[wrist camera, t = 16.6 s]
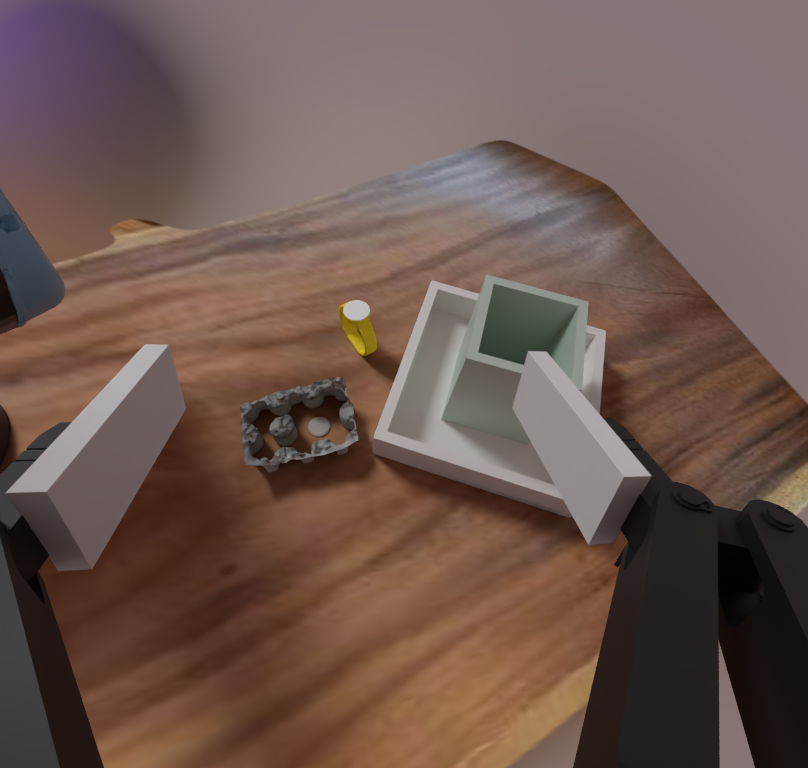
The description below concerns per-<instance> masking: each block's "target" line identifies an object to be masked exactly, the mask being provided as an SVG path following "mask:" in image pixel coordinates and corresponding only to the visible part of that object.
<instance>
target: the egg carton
mask: <svg viewBox="0 0 808 768" xmlns="http://www.w3.org/2000/svg"><path fill="white" fill-rule="evenodd" d="M329 395H334V396H335V397H336V398H337V399H338V400H340V401H347V402H346V403H344V404H343V405H342V406H341V408H340V412H339V415H340V421H341V423H342V425H343V426H344V427H345V428H346V429H349V430H352V431H351V432H349V434H348V436H347V439H346V441H345V442H344V443H343V444H342V445H335V444H334V443H333V442H332V441H330V440H326V439H324V440H320V441H316V440H315V442H314V444H313V445H312V446H311V454H308V453H306V452H305V453H303V456H300V455H301V454H302V453H301V452H297V451H296V449H295V448H293V447H291V448H287V447H282V448H280V449H278V450H277V451H275V455H274V457H273V459H272V460H269V459H267V458H265V457H263V458H261V459H260V460H258V459H257V458H254V457H253V454H254V453H256V452H258V451H259V450H260V449H261V447H262V446H263V438H262V436H261V434H260V433H259V432H258V429H257V428H255V427H254V425H253V424H249V423H251V422H253V421H254V420H255V419H257V417H258V415H259V411H261V410H265V409H270V411H271V412H272V413H273V414H275V415H277V416H282V415H284V416H282V417H278V418H276V419H274V421H273V422H272V423H271V425H270V434H271V435H272V436H273V438H274V440H275V441H276V442H277V443H278V444H279V445H282V446H288V445H290V444H292V443H293V442H294V441H295V440H296V438H297V435H298V433H297V429H296V427H295V425H294V422H293V420H292V418H291V416H290V415H288V414H287V413H288V412H289V411H290V410H291V408H292V405H293V404H296V403H299V402H303V404H304V405H305V406H306V407H309V408H316V407H318V406H320V405H321V404H322V403H323V401H324V397H326V396H329ZM240 410H241V425H242V441H243V450H244V460H245V464H247V465H257V466H258V465H263V467H264V468H265V469H266V471H267V472H273V471H277V470H278V468H279V464H280V463H287V462H288V461H289V460H298V459H301V460H302V462H303V463H309V462H312V461H314V457H315V456H322V455H326V454H329V453H332V452H334V451H336V452H337V454H338V455H340V454H345V453H347V452H348V446H349V445H351V444H352V443H354V442H356V441H358V434H357V431H356V424H355V420H354V418H353V415H354V410H353V405H352V403H351V402H350V400H349V398H348V395H347V390H346V386H345V382H344V379H343V378H342V377H338V378H329V379H326V380H320V381H317V382H313V383H312V385H309V386H299V387H296V388H295V389H290V390H285V391H278V392H275V393H272V394H270V395H267V396H265V397H263V398H260V399H257V400H256V401H254V402H252V403H249V402H246V403H243V404H242V405H240ZM285 414H287V415H285ZM330 428H331V425H330V422H329V421H328V420H327V419H326V418H324V417H317V418H314V419H312V420H311V421H310V423H309V425H308V430H309V433H310V434H311V435H313V436H315V437H323V436H325V435H326V434H327V433H328V432H329V430H330Z"/></svg>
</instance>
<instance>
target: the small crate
mask: <svg viewBox="0 0 808 768" xmlns="http://www.w3.org/2000/svg"><path fill="white" fill-rule="evenodd" d="M587 314H588V301H584V300H580V299H576V298H572V297H569V296H565V295H561V294H557V293H554V292H550V291H546V290H542V289H539V288H535V287H531V286H527V285H524V284H520V283H516V282H512V281H508V280H505V279H501V278H497V277H493V276H490V275H486V277H485V280H484V283H483V285H482V288H481V291H480V294H479V296H478V299H477V302H476V305H475V307H474V310H473V313H472V316H471V318H470V321H469V324H468V327H467V329H466V332H465V335H464V337H463V340H462V343H461V346H460V348H459V352H458V356H457V359H456V363H455V367H454V371H453V375H452V379H451V383H450V387H449V391H448V394H447V398H446V402H445V406H444V410H443V414H442V418H441V420H444V421H448V422H451V423H455V424H458V425H462V426H465V427H468V428H472V429H475V430H479V431H482V432H486V433H489V434H493V435H496V436H499V437H503V438H506V439H510V440H513V441H517V442H520V443H524V444H527V443H528V442H530V439H529V437H528V436H527V434H526V432H525V430H524V428H523V427H522V425H521V423H520V421H519V419H518V418H517V416H516V414H515V412H514V410H513V409H512V407H513V404H514V400H515V396H516V393H517V389H518V386H519V382H520V378H521V375H522V371H523V367H524V364H525V360H526V357H527V353H528V351H543V352H547V353H548V354H549V355H550V356H551V357H552V359H553V360H554V361H555V362H556V363H557V365H558V366H559V367H560V368H561V369H562V370H563V372H564V373H565V374H566V375H567V376H568V378H569V379H570V380H571V381H572V382H573V383H574V385H575V386H576V387H577V388H578V389H579V391H580V392H581V391H582V386H583V372H584V357H585V343H586V329H587Z"/></svg>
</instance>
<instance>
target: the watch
mask: <svg viewBox="0 0 808 768" xmlns="http://www.w3.org/2000/svg"><path fill="white" fill-rule="evenodd" d="M339 317H340V320H341V324H342V327H343V329H344V331H345V333H346V336H347V338H349V340H350V341H351V343H352V344H353V346H354V347H355V348H356V350H357V351H358V353H359V354H360V355H362V356H367V355H369V354H371V353H373V352H374V351H375V350H376V349H377V340H376V336H375V333H374V330H373V327H372V325H371V323H370V321H369V317H370V308H369V306H368V305H367V304H366V303H365V302H363V301H360V300H353V301H350V302H347V303H345V304H343V305H341V306H340V307H339ZM355 325H357V327H358V329H359V331H360V333H361V335H360V334H359V332H358V331H357V329H356V326H355ZM361 336H362V337H361Z"/></svg>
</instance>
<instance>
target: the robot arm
mask: <svg viewBox="0 0 808 768" xmlns="http://www.w3.org/2000/svg"><path fill="white" fill-rule="evenodd" d="M64 295H65V287H64V283H63V281H62V279H61V278H60V276H59V274H58V273H57V271H56V270H55V268H54V266H53V265H52V263H51V262H50V260H49V259H48V257H47V256H46V254H45V253H44V251H43V250H42V248H41V247H40V245H39V244H38V242H37V241H36V239H35V238H34V236H33V235H32V234H31V232H30V231H29V229H28V228H27V226H26V225H25V223H24V222H23V220H22V219H21V217H20V216H19V214H18V213H17V211H16V210H15V209H14V207H13V206H12V204H11V203H10V201H9V200H8V199H7V197H6V196H5V194H4V193H3V191H2V190H1V189H0V334H3V333H5V332H7V331H10V330H12V329H14V328H17V327H18V328H19V327H22V326H24V325H25V324H26V322H27V321H29V320H30V319H32V318H34V317H36V316H38V315H40V314H42V313H44V312H46V311H48V310H50V309H52V308H54V307H56V306H57V305H58V304H59V303H61V301H62V299H63V298H64ZM512 409H513V410H514V412H515V414H516V416H517V418H518V419H519V421H520V423H521V425H522V427H523V428H524V430H525V432H526V434H527V436H528V437H529V439H530V441H531V443H532V444H533V446H534V448H535V450H536V452H537V453H538V455H539V457H540V459H541V461H542V462H543V464H544V466H545V468H546V470H547V471H548V473H549V475H550V477H551V479H552V480H553V482H554V484H555V486H556V488H557V489H558V491H559V493H560V495H561V497H562V498H563V500H564V502H565V504H566V506H567V507H568V509H569V511H570V513H571V514H572V516H573V518H574V520H575V522H576V523H577V525H578V527H579V529H580V531H581V532H582V534H583V536H584V538H585V540H586V541H587V543H588V545H594V544H613V542H614V541H615V539H616V537H617V535H618V534H619V532H620V530H621V531H622V532H623V534H624V535H625V537H626V538H627V540H628V543H627V544H626V546H625V548H624V549H623V551H622V553H621V554H620V556H619V558H618V559H617V561H616V562H615V564H614V565H615V566H617V567H618V566H619V565H620V567H619V571H618V576H617V580H616V584H615V589H614V593H613V597H612V602H611V606H610V610H609V615H608V619H607V623H606V628H605V632H604V636H603V641H602V645H601V649H600V654H599V658H598V662H597V667H596V671H595V675H594V680H593V684H592V688H591V693H590V697H589V701H588V706H587V710H586V714H585V719H584V723H583V727H582V732H581V736H580V741H579V745H578V749H577V753H576V758H575V762H574V766H573V768H719V660H718V659H719V657H718V656H719V655H718V654H719V652H718V650H719V648H718V639H719V643H720V646H721V649H722V653H723V657H724V660H725V663H726V667H727V671H728V674H729V678H730V681H731V685H732V688H733V692H734V695H735V698H736V702H737V706H738V709H739V713H740V716H741V720H742V723H743V727H744V730H745V734H746V737H747V741H748V744H749V748H750V751H751V755H752V758H753V761H754V765H755V768H808V528H807V526H806V525H805V524H804V523H803V521H802V520H800V519H799V518H798V517H797V516H795V515H794V514H793V513H792V512H790V511H789V510H787V509H784V508H783V507H781V506H779V505H776V504H774V503H771V502H768V501H763V500H752V501H750V502H749V503H748V504H747V505H746V506H745V508H744V509H743V510H742V511H737V510H732V509H728V508H723V507H719V506H715V505H714V504H713V503H712V502H711V500H710V499H709V498H708V497H707V496H705V495H704V494H703V493H701V492H700V491H698V490H696V489H695V488H693V487H691V486H688V485H685V484H682V483H678V482H673V481H672V480H671V479H670V478H669V477H668V476H667V475H666V474H665V472H664V471H663V470H662V469H661V468H660V467H659V466H658V465H657V463H656V462H655V461H654V460H653V459H652V458H651V457H650V456H649V454H648V453H647V452H646V451H643V448H642V447H641V446H640V444H639V443H638V442H635V439H634V438H633V437H632V435H631V434H630V433H629V432H628V431H627V430H626V429H625V428H624V427H623V426H621V425H620V424H618V423H617V422H615V421H614V420H612V419H603V418H602V417H601V415H600V414H599V413H598V412H597V411H596V410H595V408H594V407H593V406H592V405H591V404H590V402H589V401H588V400H587V399H586V398H585V397H584V395H583V394H582V393H581V392H580V391H579V389H578V388H577V387H576V386H575V385H574V383H573V382H572V381H571V380H570V379H569V378H568V376H567V375H566V374H565V373H564V372H563V370H562V369H561V368H560V367H559V366H558V365H557V363H556V362H555V361H554V360H553V359H552V357H551V356H550V355H549V354H548V353H547V352H543V351H528V353H527V357H526V360H525V364H524V367H523V371H522V375H521V378H520V382H519V386H518V389H517V393H516V396H515V400H514V404H513V407H512ZM185 410H186V406H185V403H184V399H183V395H182V391H181V388H180V384H179V380H178V377H177V373H176V369H175V366H174V362H173V358H172V355H171V351H170V347H169V345H154V344H145V345H144V346H143V347H142V348H141V349H140V350H139V351H138V352H137V353H136V355H135V356H134V357H133V358H132V359H131V360H130V361H129V362H128V363H127V364H126V365H125V366H124V367H123V368H122V369H121V371H120V372H119V373H118V374H117V375H116V376H115V377H114V378H113V379H112V380H111V381H110V382H109V383H108V384H107V385H106V386H105V388H104V389H103V390H102V391H101V392H100V393H99V394H98V395H97V396H96V397H95V398H94V399H93V400H92V401H91V402H90V403H89V405H88V406H87V407H86V408H85V409H84V410H83V411H82V412H81V413H80V414H79V415H78V416H77V417H76V418H75V419H74V420H73V422H72V423H59V424H57V425H56V426H54V427H52V428H51V429H49V430H47V431H46V432H44V433H42V434H41V435H39V436H38V437H37V438H36V439H35V440H34V441H33V442H32V443H31V444H30V445H29V446H28V447H27V451H23V452H22V453H21V454H20V455H19V456H18V457H17V458H16V459H15V463H11V464H10V465H9V466H8V467H7V468H6V469H5V470H4V471H3V472H2V473H1V474H0V768H104V767H103V764H102V760H101V757H100V754H99V751H98V748H97V745H96V742H95V739H94V736H93V733H92V730H91V726H90V723H89V720H88V717H87V714H86V711H85V708H84V705H83V702H82V699H81V696H80V692H79V689H78V686H77V683H76V680H75V677H74V674H73V671H72V668H71V665H70V661H69V658H68V655H67V652H66V649H65V646H64V643H63V640H62V637H61V634H60V631H59V627H58V624H57V621H56V618H55V615H54V612H53V609H52V606H51V603H50V600H49V596H48V593H47V590H46V587H45V584H44V581H43V579H42V577H41V576H40V574H39V573H38V572H37V571H38V570H39V569H40V567H41V566H42V564H43V563H44V562H45V560H46V559H47V557H49V559H50V560H51V562H52V563H53V565H54V566H55V568H56V569H57V571H69V570H89V569H93V567H94V565H95V564H96V562H97V560H98V559H99V557H100V555H101V553H102V552H103V550H104V548H105V547H106V545H107V543H108V541H109V540H110V538H111V536H112V535H113V533H114V531H115V529H116V528H117V526H118V524H119V523H120V521H121V519H122V517H123V516H124V514H125V512H126V511H127V509H128V507H129V506H130V504H131V502H132V500H133V499H134V497H135V495H136V494H137V492H138V490H139V488H140V487H141V485H142V483H143V482H144V480H145V478H146V476H147V475H148V473H149V471H150V470H151V468H152V466H153V464H154V463H155V461H156V459H157V458H158V456H159V454H160V453H161V451H162V449H163V447H164V446H165V444H166V442H167V441H168V439H169V437H170V435H171V434H172V432H173V430H174V429H175V427H176V425H177V423H178V422H179V420H180V418H181V417H182V415H183V413H184V411H185ZM8 439H9V424H8V419H7V416H6V414H5V412H4V410H3V408H2V407H1V406H0V464H1V462H2V459H3V457H4V454H5V452H6V448H7V444H8Z"/></svg>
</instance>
